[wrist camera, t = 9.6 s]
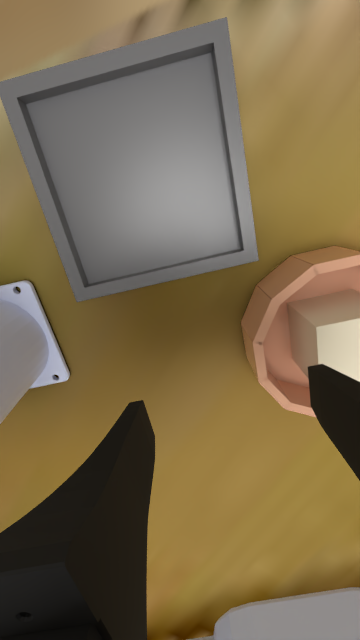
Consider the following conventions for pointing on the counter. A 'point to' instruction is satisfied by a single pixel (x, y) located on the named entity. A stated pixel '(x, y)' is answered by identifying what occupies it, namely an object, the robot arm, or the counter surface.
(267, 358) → the bowl
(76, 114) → the parts tray
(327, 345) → the cream cube block
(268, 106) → the counter surface
